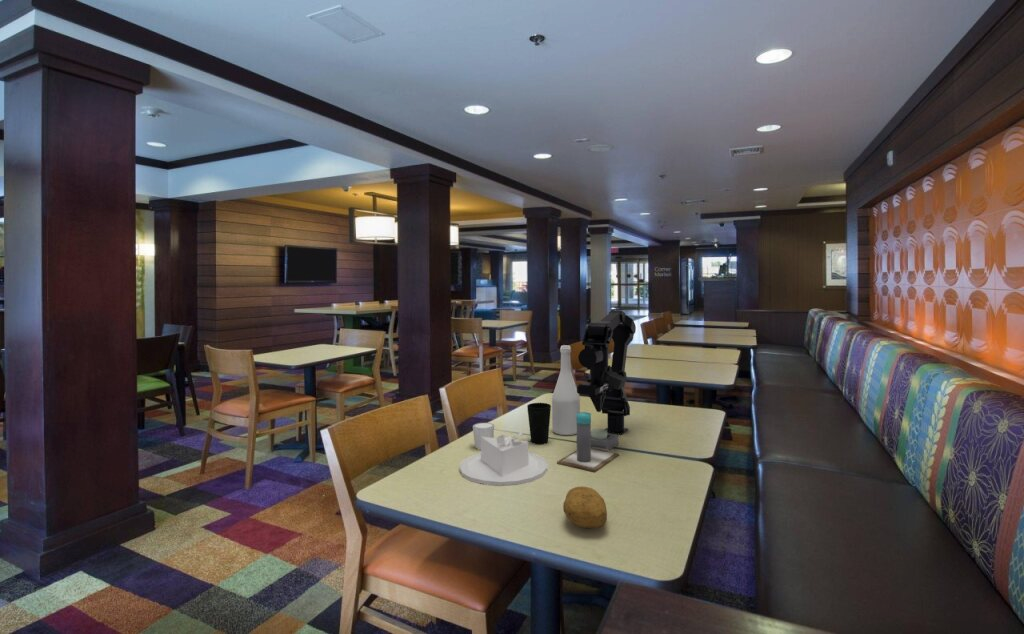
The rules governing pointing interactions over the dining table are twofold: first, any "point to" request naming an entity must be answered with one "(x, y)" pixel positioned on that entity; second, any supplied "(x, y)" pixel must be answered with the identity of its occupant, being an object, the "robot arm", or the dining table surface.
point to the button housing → (605, 442)
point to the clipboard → (597, 459)
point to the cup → (539, 422)
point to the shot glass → (482, 432)
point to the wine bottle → (565, 398)
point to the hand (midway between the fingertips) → (598, 411)
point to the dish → (503, 462)
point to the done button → (599, 434)
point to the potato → (585, 507)
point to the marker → (583, 436)
